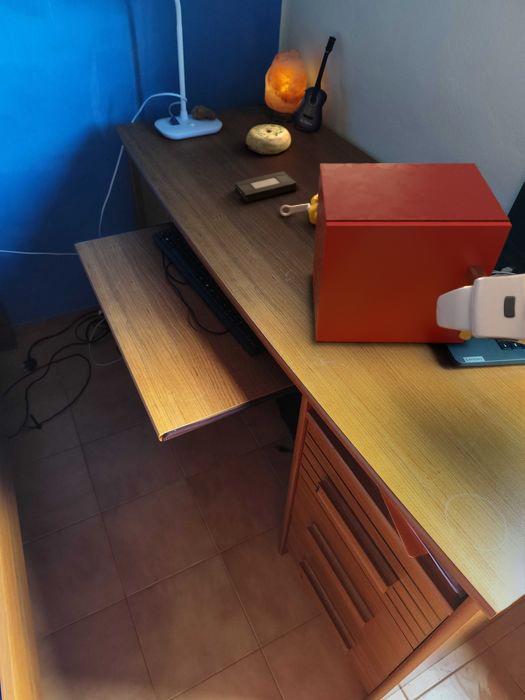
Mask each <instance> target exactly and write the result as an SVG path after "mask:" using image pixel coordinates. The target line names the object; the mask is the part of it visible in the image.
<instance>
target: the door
mask: <svg viewBox="0 0 525 700" xmlns="http://www.w3.org/2000/svg"><path fill="white" fill-rule="evenodd" d="M512 227H513V224H512V223H511V222H510V221H509V222H326V228H325V239H324V251H323V262H322V274H321V286H320V297H319V309H318V320H317V332H316V331H315V341H316V342H324V343H325V342H326V343H328V342H331V343H332V342H334V343H340V342H341V343H343V342H344V343H414V344H415V343H419V344H421V343H422V344H424V343H427V344H463V343H464V342H465V341H467V340H470V339H471V338H472V337H473V334H472V332H467V331H461V330H454V329H449V328H444V327H440V326H439V325H438V324H437V317H436V311H437V300H438V298H439V297H440V296H441V295H443V294H445V293H448V292H450V291H453V290H456V289H459V288H462V287H467V286H473V285H474V280H476V279H478V278H481V277H490V276H493V272H494V269H495V267H496V266H497V262H498V260H499V257H500V256H501V253H502V251H503V248H504V245H505V243H506V241H507V239H508V236H509V233H510V231H511V230H512Z"/></svg>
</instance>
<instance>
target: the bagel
mask: <svg viewBox="0 0 525 700" xmlns="http://www.w3.org/2000/svg"><path fill="white" fill-rule="evenodd" d="M291 137H292V136H291V134H290V132H289V130H288V129H287V128H285V127H284V126H282V125H278V124H271V123H269V124H267V123H265V124H258V125H256V126H253V127H252V128H251V129H249V131H248V132H247V135H246V137H245V144H247V145H248V146H249V147H250V148H252V149H254V150H257V151H254V150H252V149H250V148H248V147H247V149H248V150H251V151H252V152H254V153H257V154H259V155H265V156H266V155H278V154H280V153H282V152H285V151H286V150H287V149H288V148H289V147H290V145H291V143H292V138H291ZM247 145H246V146H247ZM258 151H260V152H258ZM262 152H264V153H262Z"/></svg>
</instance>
